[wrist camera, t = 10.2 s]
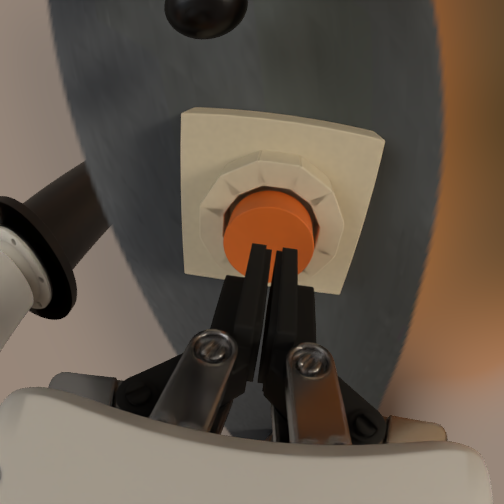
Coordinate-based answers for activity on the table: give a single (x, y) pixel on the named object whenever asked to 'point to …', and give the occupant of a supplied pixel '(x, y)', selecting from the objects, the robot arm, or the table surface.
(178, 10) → the switch
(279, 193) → the button
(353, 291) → the table surface
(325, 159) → the beige button base
